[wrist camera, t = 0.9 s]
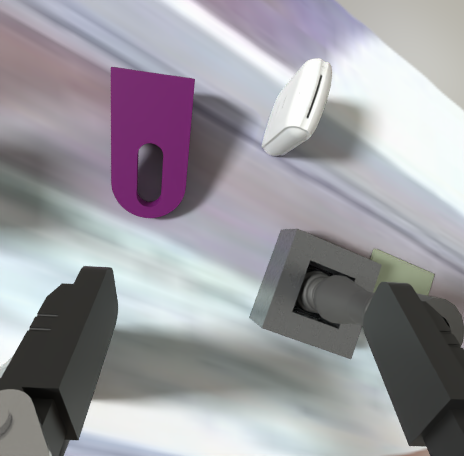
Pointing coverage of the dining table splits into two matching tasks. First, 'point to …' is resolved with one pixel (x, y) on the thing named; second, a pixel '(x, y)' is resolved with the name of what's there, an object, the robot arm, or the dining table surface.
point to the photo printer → (298, 108)
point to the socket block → (289, 283)
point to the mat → (401, 272)
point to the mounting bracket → (149, 135)
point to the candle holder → (358, 301)
